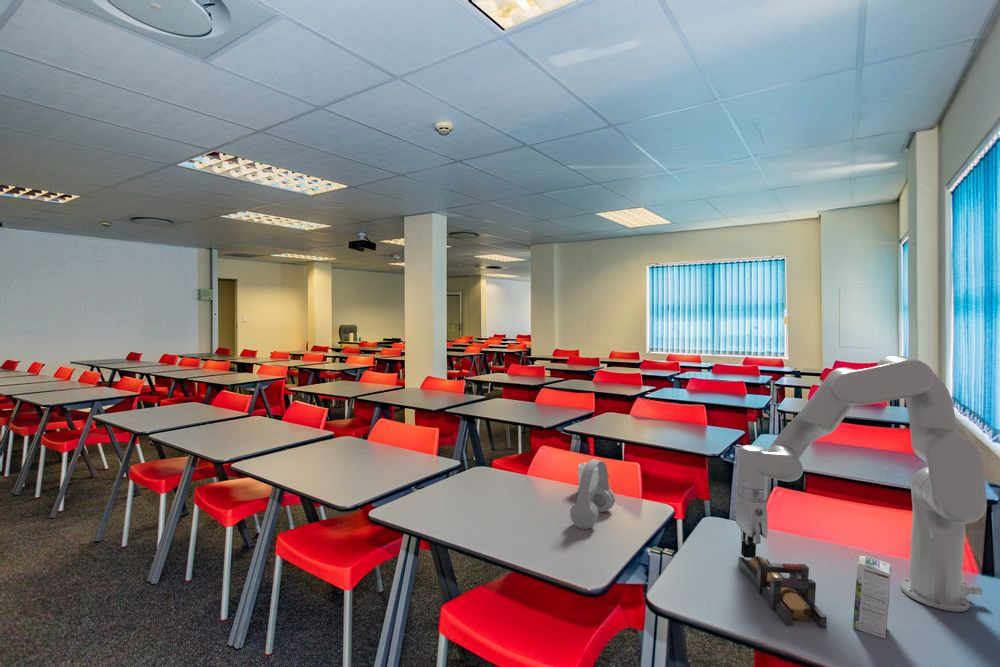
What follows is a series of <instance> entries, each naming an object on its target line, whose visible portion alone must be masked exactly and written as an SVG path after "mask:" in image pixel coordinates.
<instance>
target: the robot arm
mask: <svg viewBox="0 0 1000 667" xmlns="http://www.w3.org/2000/svg"><path fill="white" fill-rule="evenodd" d="M900 399H901V400H902V399H904V401H905V404H906V409H907V413H908V414H907V415H908V419H909V420H908V422H909V430H910V439H911V440H910V441H911V449H912V451H913V452H914V454H915V455H916V456H917V457H918V458H920V459H921V460H922V461H923V462H925V463H926V465H927V467H923V468H921V469H919V470H918V471H916V473H915V474H914V475H913V476H912V478H911V482H910V484H911V486H910V490H911V491H910V492H911V502H912V522H911V523H912V526H911V534H910V538H911V539H910V552H909V553H910V554H909V566H908V569H909V570H908V577H907V578H904V579H901V581H900V583H899V588H900V590H901V591H902V592H904V594H906V596H909V597H910V598H912V599H913V600H915V601H917V602H919V603H921V604H923V605H926V606H929V607H932V608H934V609H935V608H936V609H938V610H941V611H942V610H943V611H948V612H955V613H956V612H957V613H958V612H959V613H960V612H967V611H968V610H969V609H970V601H969V600H968V598H967V597H966V596H969V595H974V596H976V595H977V596H980V595H981V596H982V595H983V594H984V593H983V592H984V591H983V588H982V587H981V586H979V585H968V584H967V582H966V581H965V580H963V569H964V568H963V566H964V554H965V552H964V551H965V541H966V525H967V524H972V523H974V522H977V521H979V520H980V519H981V518H982V517H983V516H984V515H985V512H986V510H987V505H988V504H987V501H988V498H987V489H986V480H985V472H984V465H983V459H982V455H981V452H980V451H979V448H978V447H977V445H976V444H975V443H974V442H973V440H971V439H970V438H968V437H967V436H966V435H964V434H962V433H961V432H959V429H958V425H957V418H956V413H955V409H954V403H953V400H952V396H951V394H950V392H949V389H948V388H947V386H946V385H945V384H944V382H943V381H942V379H941V378H939V376H938V375H937V374H936V373H934V372H933V370H932V368H931V367H930V366H929V365H928V364H927V363H926V362H924V361H922V360H919V359H917V358H916V359H915V358H911V357H908V356H903V355H895V354H894V355H888V356H885V357H883V358H881V359H880V360H879V361H877V364H876V366H872V367H871V366H870V367H868V368H862V369H861V368H859V369H853V368H850V367H838V368H835V369H834V370H832V371H830V372H829V373H828V375H827V376H826V377H825V378H824V379H823V381H822V383H821V384H820V385H819V386H818V388H817V389H816V390H815V392H814V393H813V395H812V396H811V397H810V399H809V400H808V401H807V402H806V404H805V405H804V406H803V408H802V409H801V410H800V411H799V413H797V414H796V416H794V418H793V419H792V420H790V422H789V423H788V424H786V426H784V427H783V429H782V430H781V432H780V433H779V434H778V436H777V437H776V438H775V440H774V441H773V442H772V443H771V445H770V446H769V447H768V450H767V449H766V448H765V447H764V448H763V447H762V446H758V445H751V444H745V445H741V446H740V447H739V448H738V449H737V460H736V461H737V466H736V484H735V485H736V486H735V495H736V502H735V512H734V515H735V516H734V517H735V518H734V519H735V523H736V525H737V526H738V527H739V529H740V538H741V548H740V550H741V551H740V554H741V556H742V557H743V558H744V559H746V558H747V559H748V558H749V559H752V558H753V557H756V554H757V553H756V552H757V545H758V544H759V545H760V544H761V543H762V542H761V539H762V538H764V539H766V538H768V534H769V531H768V530H769V527H768V526H769V523H768V520H769V519H768V518H769V517H768V507H767V498H768V496H767V495H768V494H767V493H768V478H771V479H775V480H778V481H782V482H788V483H789V482H795V481H798V480H799V479H801V477H802V475H803V473H804V466H803V464H802V462H801V459H800V458H801V457H802V455H803V454H804V452H806V450H807V449H808V447H809V446H811V444H813V443H814V442H815V441H816V440H817V439H819V438H822V437H825V436H827V435H830V434H831V433H833V432H834V431H835V430H836V429H837V428H838V427H839V425H840V424H841V422H842V421H843V420H844V419H845V417H846V416H847V415H848V414H849V412H850V411H851V410H852V408H853V407H854V406H865V405H867V406H868V405H873V404H880V403H884V402H890V401H895V400H900ZM761 537H762V538H761Z"/></svg>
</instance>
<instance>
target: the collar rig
mask: <svg viewBox="0 0 1000 667" xmlns="http://www.w3.org/2000/svg"><path fill="white" fill-rule="evenodd" d="M765 560H766V562H767V563H758V572H757V573H756V572H755V570H754V569H753V568H752V567H751V566H750V565H749V562H748V561H747V559H746V558H745V557H743V556H742V557H741V556H739V557H738V561H737V566H738V567H739V569H740V570H741V571H742V572H743V574H744V575H745V576H746V578H748V580H749V581H750V583H751V584H752V585H753V586H754V587H755V589H756V591H757V593H758V594H759V595H761V596H762V597H763V599H765V601H766V602H767V603H768V604H769V608H770V609H771V610H772V611H773V612H775V614H776V615H777V616H778V617H779V618H780V619H781V621H782V622H783V623H784V624H785V625H786V626H793V615H792V614H791V613H790V611H789V610H788V609H787V608H786V607H785V606H784V604H783V603H782V602H781V587H783V588H793V590H794V591H795V592H796V593H797V594H798V595H799V596H800V597H801V598H802V599H803V600H804V601H805V602H806V603H807V604H808V605H809V607H810V609H811V614H810V616H809V617H811V619H813V621H814V622H815V623H816V624H817V625H818V627H819V628H821V629H822V628H823V629H824V628H825V629H827V623H828V622H827V621H828V620H827V619H828V617H827V616H826V614H824V613H823V612H822V610H820V609H819V608H818V606H817V605H816V590H817V587H816V586H817V583H816V581H814V580H813V579H811V578H810V579H809V577H810V576H809V575H810V568H809V567H808V565H806V564H804V563H798V564H797V563H775V561H774V560H773V559H772V558H766V559H765ZM767 572H774V573H778V574H779V575H780V576H781V577H782V578H776V577H771V584H770V588H769V587H768V586H767ZM787 574H789V576H788V575H787Z"/></svg>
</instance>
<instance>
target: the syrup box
mask: <svg viewBox="0 0 1000 667" xmlns="http://www.w3.org/2000/svg"><path fill="white" fill-rule="evenodd" d="M856 572H857V573H856V581H855V591H854V604H853V605H854V606H853V620H852V628H853V629H855V630H857V631H860V632H863V633H867V634H869V635H872V636H874V637H875V636H876V637H878V638H882V639H884V640H885V639H886V637H887V630H888V629H887V627H888V615H889V606H890V605H889V604H890V603H889V602H890V591H891V590H890V589H891V579H892V578H891V576H892V564H890V563H889V562H886V561H883V560H880V559H877V558H873V557H869V556H867V555H866V556H864V555H859V559H858V565H857V571H856Z"/></svg>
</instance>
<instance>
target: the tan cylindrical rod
mask: <svg viewBox="0 0 1000 667" xmlns="http://www.w3.org/2000/svg"><path fill="white" fill-rule="evenodd" d="M748 563H749V565H750V566H751V567H752V568H753V569H754V570H755V572H756V573H757V572H758V563H767V562H766V559H765V558H763V557H762V556H759V555H757V556H756V557H753V558H750V560H749V562H748ZM771 577H776V578H782V577H781V576H780V575H779V574H778V573H774V572H767V586H768V587H769V588H770V584H771ZM781 602H782V603H783V604H784V606H785V607H786V608H787V609H788V610H789V611H790V613H791V614H792V615H793V617H792V619H794V620H796V621H799V622H802V621H806V620H807V619H809V617H811V616H810V614H811V609H810V607H809V605H808V604H807V603H806V602H805V601H804V600H803V599H802V598H801V597H800V596H799V595H798V594H797V593H796V592H795V591H794V590H793V588H783V587H781Z"/></svg>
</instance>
